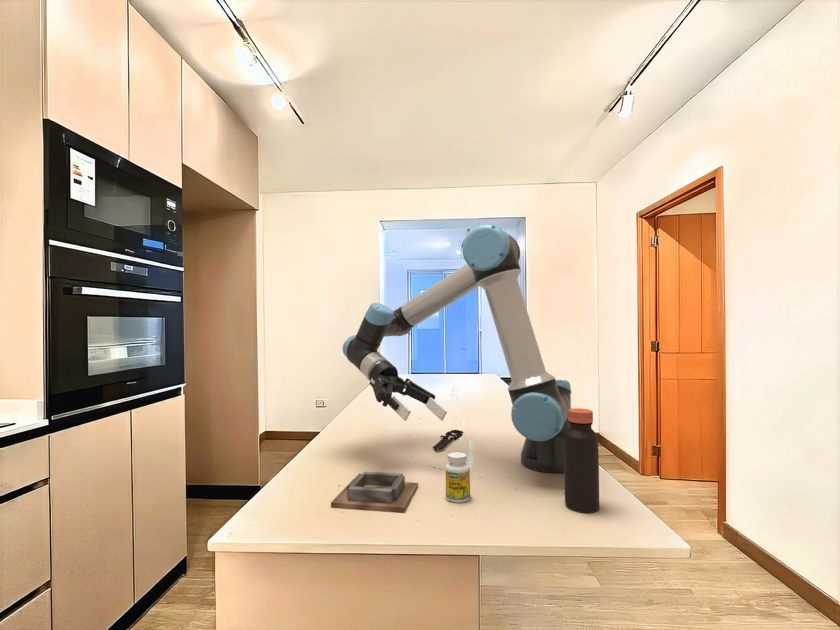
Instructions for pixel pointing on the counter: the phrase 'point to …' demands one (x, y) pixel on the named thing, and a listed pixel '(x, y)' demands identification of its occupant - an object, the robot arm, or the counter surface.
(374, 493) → the collar board
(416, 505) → the counter surface
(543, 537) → the counter surface
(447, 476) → the supplement bottle
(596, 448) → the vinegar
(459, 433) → the knife
